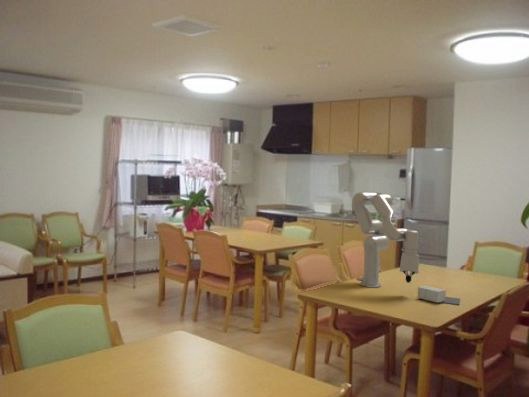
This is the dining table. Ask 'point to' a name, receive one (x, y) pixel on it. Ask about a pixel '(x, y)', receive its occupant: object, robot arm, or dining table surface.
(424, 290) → the small box
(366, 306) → the dining table surface
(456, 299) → the mat
